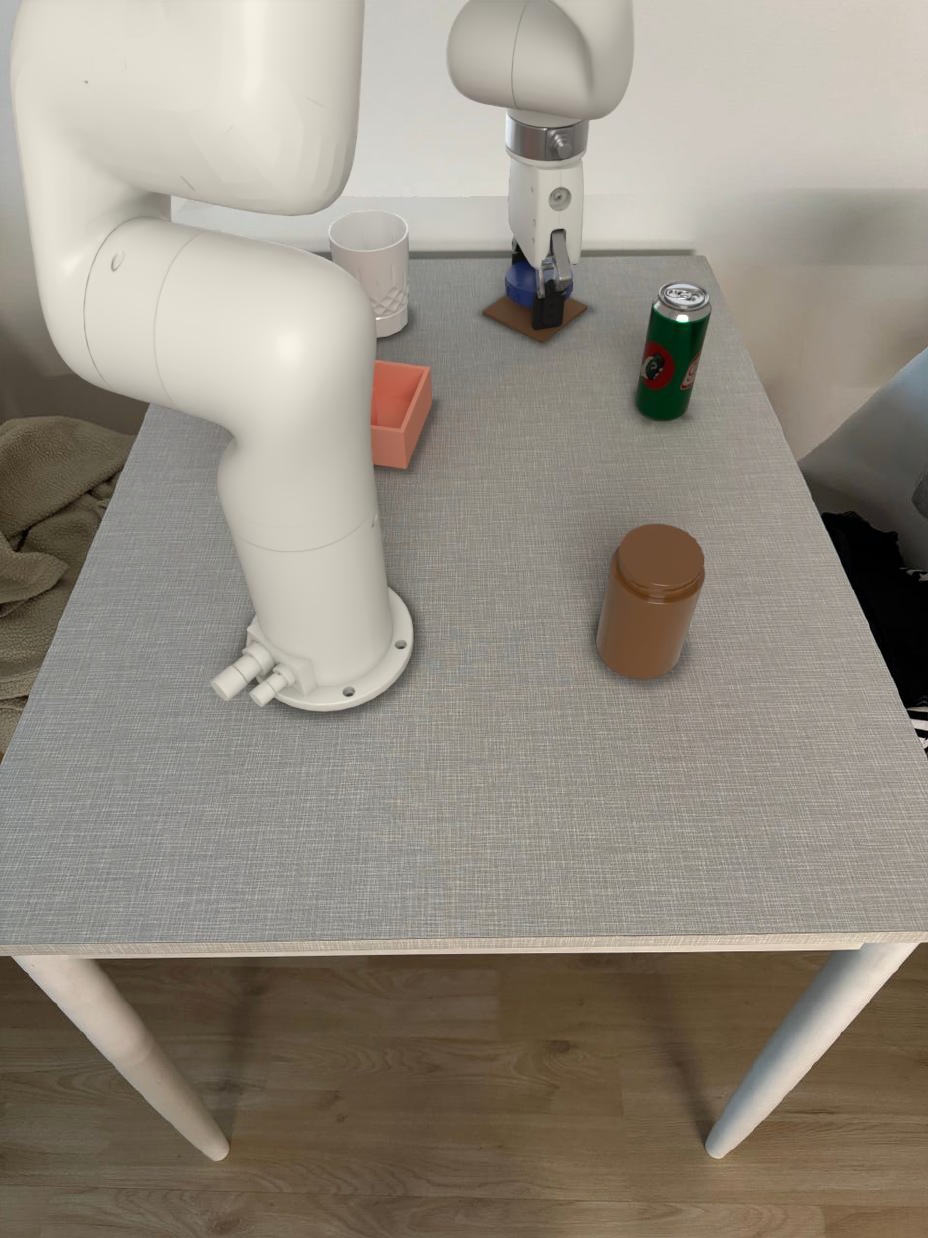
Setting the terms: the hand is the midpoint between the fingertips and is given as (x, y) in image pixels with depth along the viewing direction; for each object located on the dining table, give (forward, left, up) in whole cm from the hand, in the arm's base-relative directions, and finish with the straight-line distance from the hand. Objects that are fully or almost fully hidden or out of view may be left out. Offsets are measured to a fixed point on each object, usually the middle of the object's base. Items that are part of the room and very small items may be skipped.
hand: (535, 305), depth 93 cm
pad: (0, 0, -1) cm, 1 cm away
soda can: (-5, -19, -1) cm, 20 cm away
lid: (0, 0, +3) cm, 3 cm away
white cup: (-12, +12, -1) cm, 17 cm away
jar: (-30, -33, -1) cm, 45 cm away
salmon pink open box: (-27, +4, -1) cm, 27 cm away
